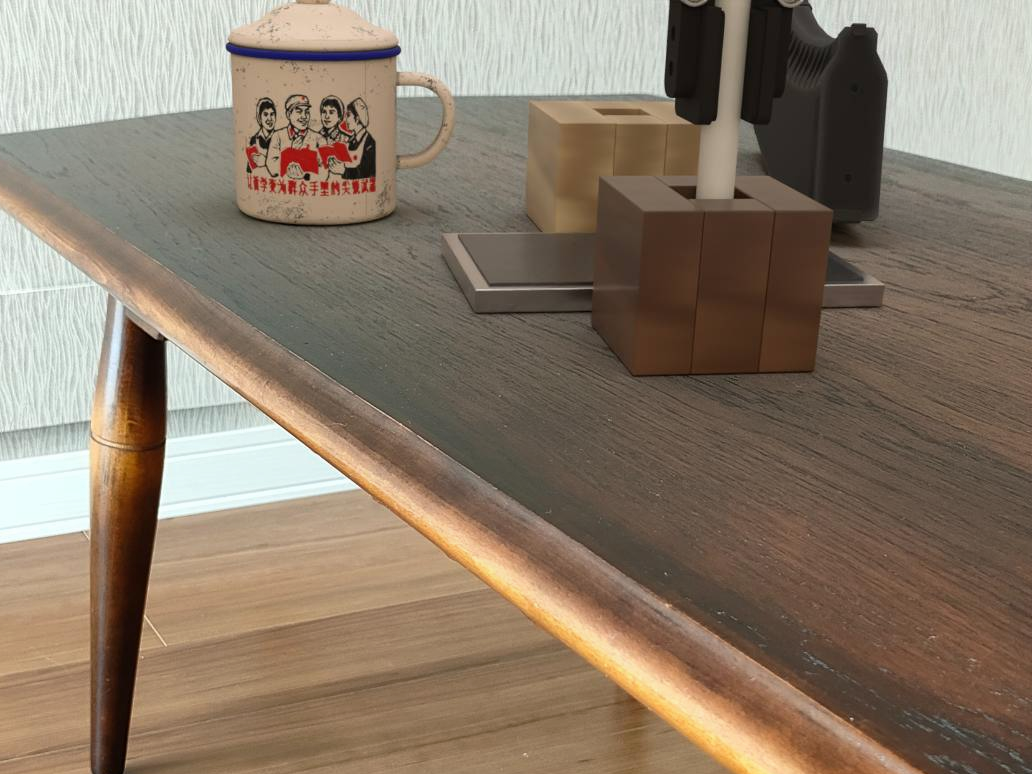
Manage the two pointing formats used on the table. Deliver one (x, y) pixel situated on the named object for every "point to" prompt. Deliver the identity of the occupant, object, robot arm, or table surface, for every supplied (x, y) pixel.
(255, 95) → the teacup with lid
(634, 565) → the table surface
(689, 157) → the pen stand
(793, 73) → the ribbed dark grey housing
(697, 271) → the stylus rest
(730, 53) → the stylus
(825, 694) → the table surface
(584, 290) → the shallow grey tray
